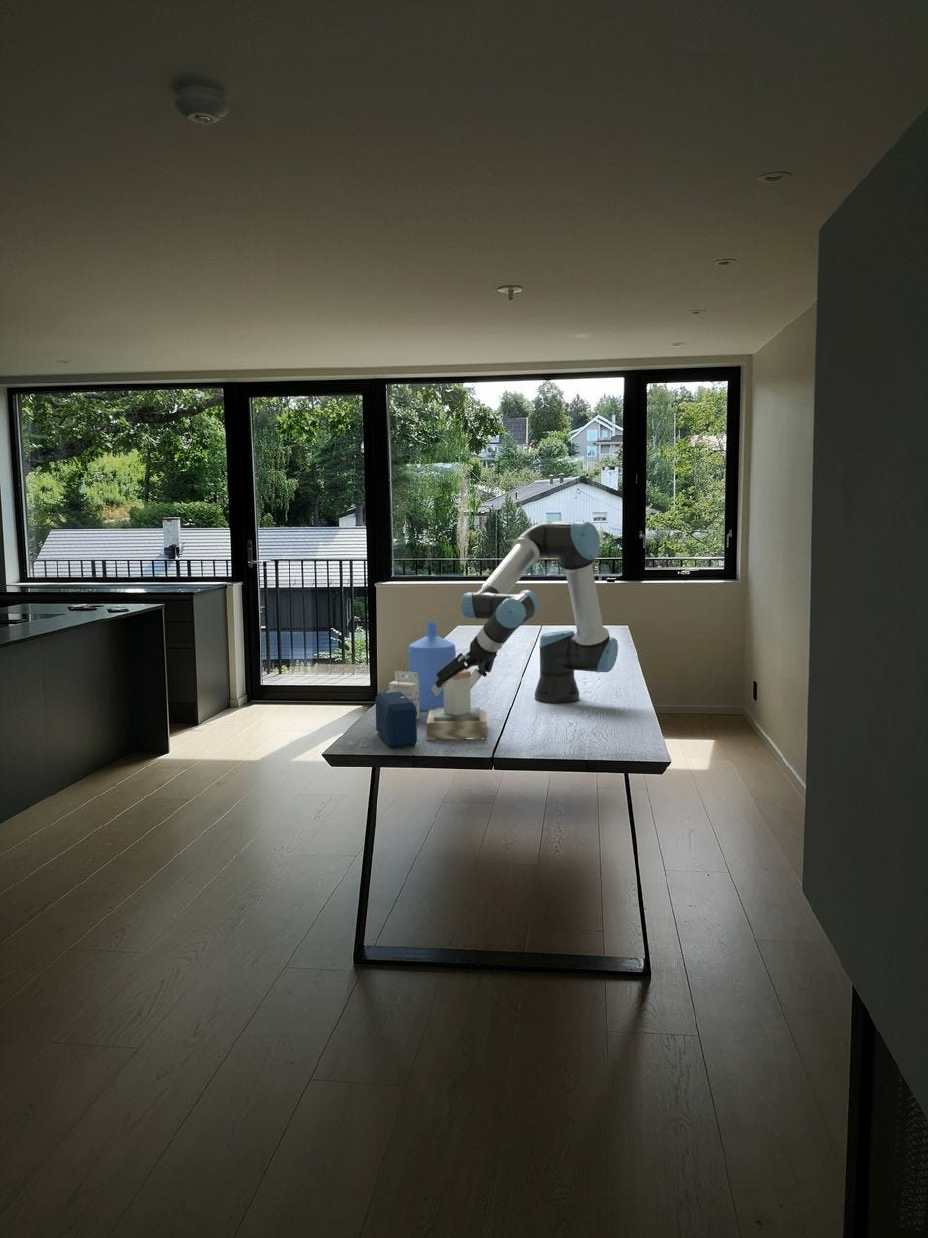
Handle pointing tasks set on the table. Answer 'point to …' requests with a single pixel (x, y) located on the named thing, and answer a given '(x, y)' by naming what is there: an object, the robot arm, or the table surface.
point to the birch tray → (456, 725)
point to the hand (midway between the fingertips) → (451, 689)
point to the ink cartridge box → (407, 687)
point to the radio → (396, 719)
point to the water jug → (430, 665)
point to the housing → (458, 694)
